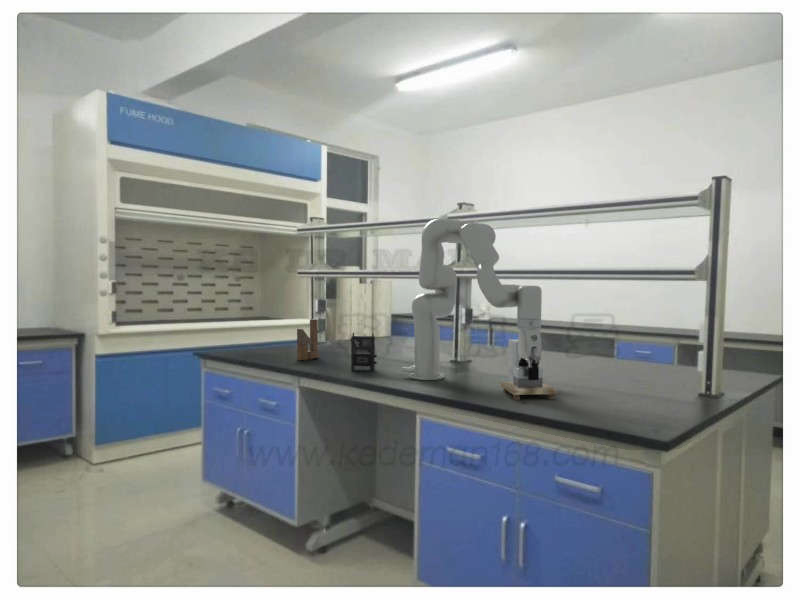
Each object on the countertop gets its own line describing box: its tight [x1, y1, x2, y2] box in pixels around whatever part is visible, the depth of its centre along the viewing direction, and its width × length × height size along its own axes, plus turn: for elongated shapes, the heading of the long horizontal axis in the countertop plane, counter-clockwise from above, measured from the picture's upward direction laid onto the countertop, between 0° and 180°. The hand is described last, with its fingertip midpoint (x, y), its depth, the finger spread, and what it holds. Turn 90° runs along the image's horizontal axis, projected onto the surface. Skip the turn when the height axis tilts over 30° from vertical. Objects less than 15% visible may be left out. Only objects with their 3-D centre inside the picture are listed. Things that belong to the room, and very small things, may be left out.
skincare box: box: [507, 339, 532, 382], centre depth 200 cm, size 8×7×16 cm
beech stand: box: [500, 381, 558, 401], centre depth 181 cm, size 14×14×3 cm
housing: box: [513, 366, 544, 388], centre depth 181 cm, size 5×8×6 cm, turn 96°
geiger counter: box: [350, 332, 377, 372], centre depth 226 cm, size 10×4×15 cm, turn 84°
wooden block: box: [296, 318, 320, 361], centre depth 254 cm, size 4×11×18 cm, turn 144°
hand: (528, 377), depth 180 cm, fingers open, 9 cm apart
